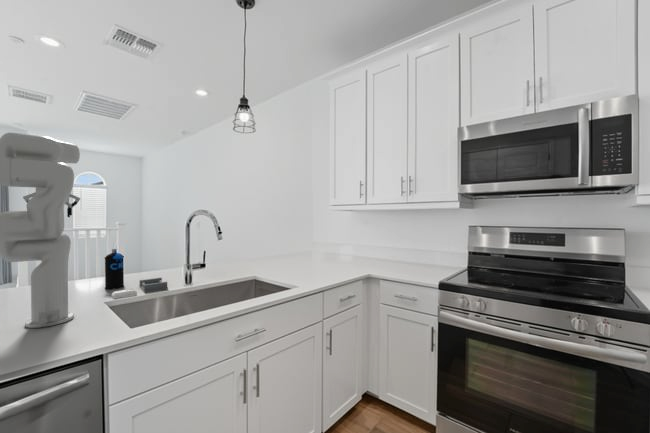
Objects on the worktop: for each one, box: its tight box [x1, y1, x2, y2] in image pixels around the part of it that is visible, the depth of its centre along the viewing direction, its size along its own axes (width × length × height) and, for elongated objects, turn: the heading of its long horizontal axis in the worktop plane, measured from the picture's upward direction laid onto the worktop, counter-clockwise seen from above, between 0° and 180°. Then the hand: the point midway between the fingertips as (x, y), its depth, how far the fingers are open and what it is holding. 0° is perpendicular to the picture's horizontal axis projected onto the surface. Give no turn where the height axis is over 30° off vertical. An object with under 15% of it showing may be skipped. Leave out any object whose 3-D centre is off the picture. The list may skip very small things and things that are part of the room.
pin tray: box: [138, 277, 169, 294], centre depth 149 cm, size 16×10×4 cm, turn 40°
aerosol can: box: [104, 248, 125, 291], centre depth 150 cm, size 8×8×20 cm
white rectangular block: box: [111, 288, 138, 300], centre depth 136 cm, size 5×9×3 cm, turn 134°
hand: (53, 217), depth 121 cm, fingers open, 9 cm apart
